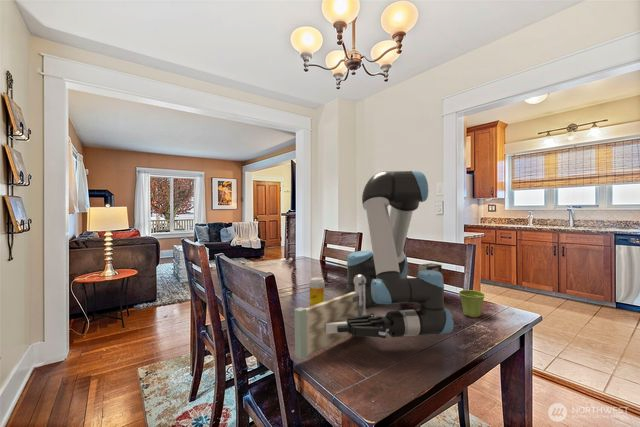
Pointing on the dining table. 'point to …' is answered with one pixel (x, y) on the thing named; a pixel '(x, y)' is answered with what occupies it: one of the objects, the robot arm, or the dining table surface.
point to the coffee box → (431, 267)
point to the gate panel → (322, 323)
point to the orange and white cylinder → (317, 291)
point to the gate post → (360, 293)
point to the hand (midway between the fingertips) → (325, 328)
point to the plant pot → (472, 302)
